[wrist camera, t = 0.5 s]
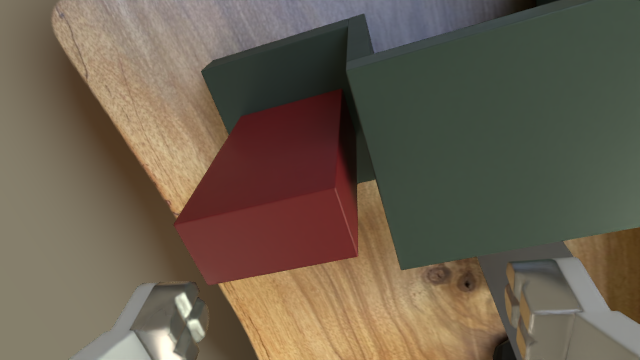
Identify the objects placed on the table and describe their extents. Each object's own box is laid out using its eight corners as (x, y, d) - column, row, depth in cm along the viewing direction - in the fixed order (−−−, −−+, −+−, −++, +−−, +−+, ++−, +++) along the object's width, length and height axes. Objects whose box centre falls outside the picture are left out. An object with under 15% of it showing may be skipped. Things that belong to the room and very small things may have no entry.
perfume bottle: (471, 242, 40) (546, 435, 25) (543, 213, 38) (675, 404, 22) (497, 289, 43) (581, 490, 27) (566, 263, 41) (699, 466, 25)
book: (239, 116, 32) (171, 224, 20) (342, 87, 31) (335, 187, 18) (258, 161, 34) (206, 286, 22) (356, 137, 32) (358, 257, 20)
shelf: (212, 60, 33) (131, 131, 21) (552, -45, 28) (702, -32, 16) (266, 188, 39) (226, 302, 27) (559, 118, 34) (674, 221, 22)
